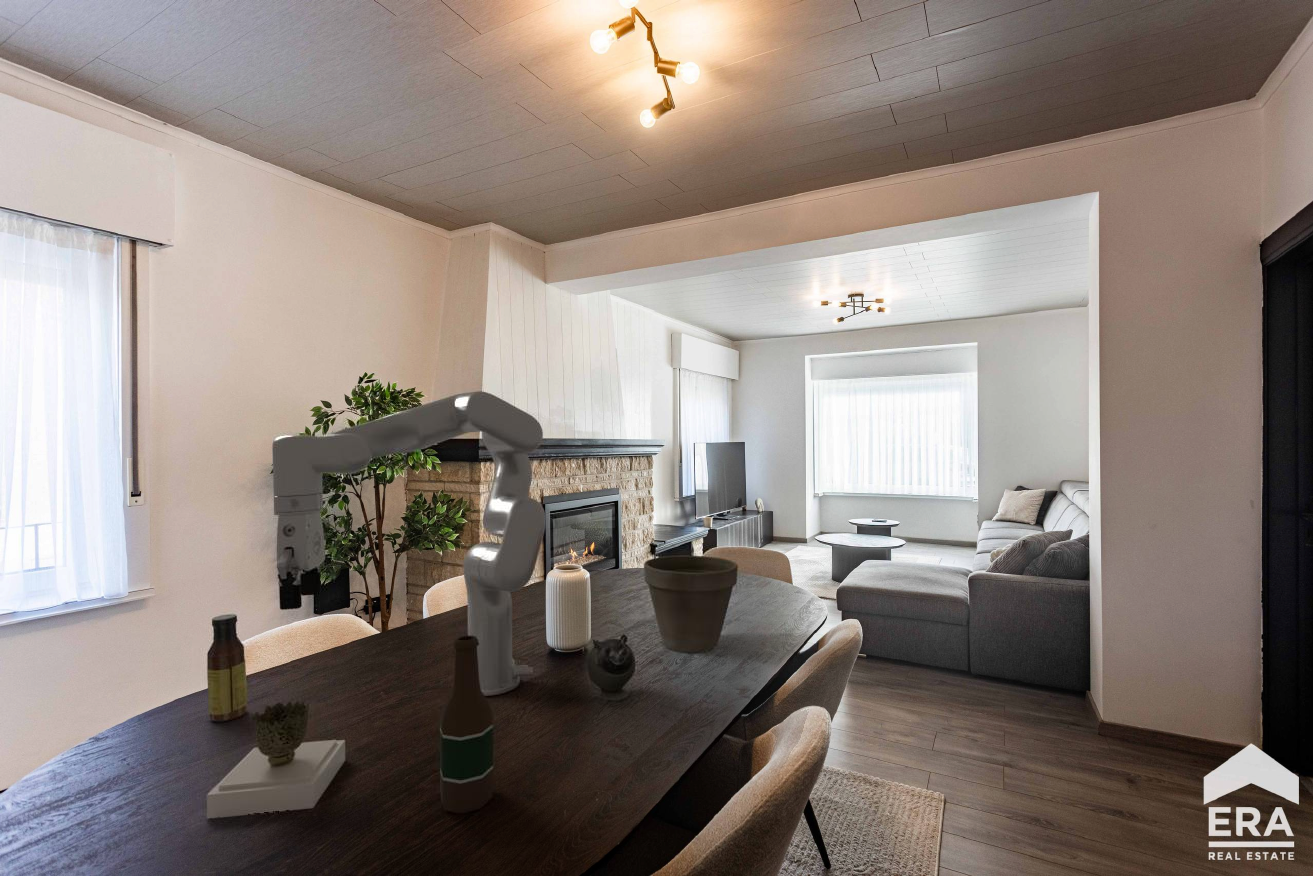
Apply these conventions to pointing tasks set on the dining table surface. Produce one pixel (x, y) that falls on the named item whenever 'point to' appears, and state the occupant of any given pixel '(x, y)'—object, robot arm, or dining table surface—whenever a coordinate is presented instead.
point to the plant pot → (690, 599)
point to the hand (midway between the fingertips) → (301, 601)
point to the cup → (281, 731)
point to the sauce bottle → (226, 671)
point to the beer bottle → (466, 736)
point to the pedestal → (277, 781)
